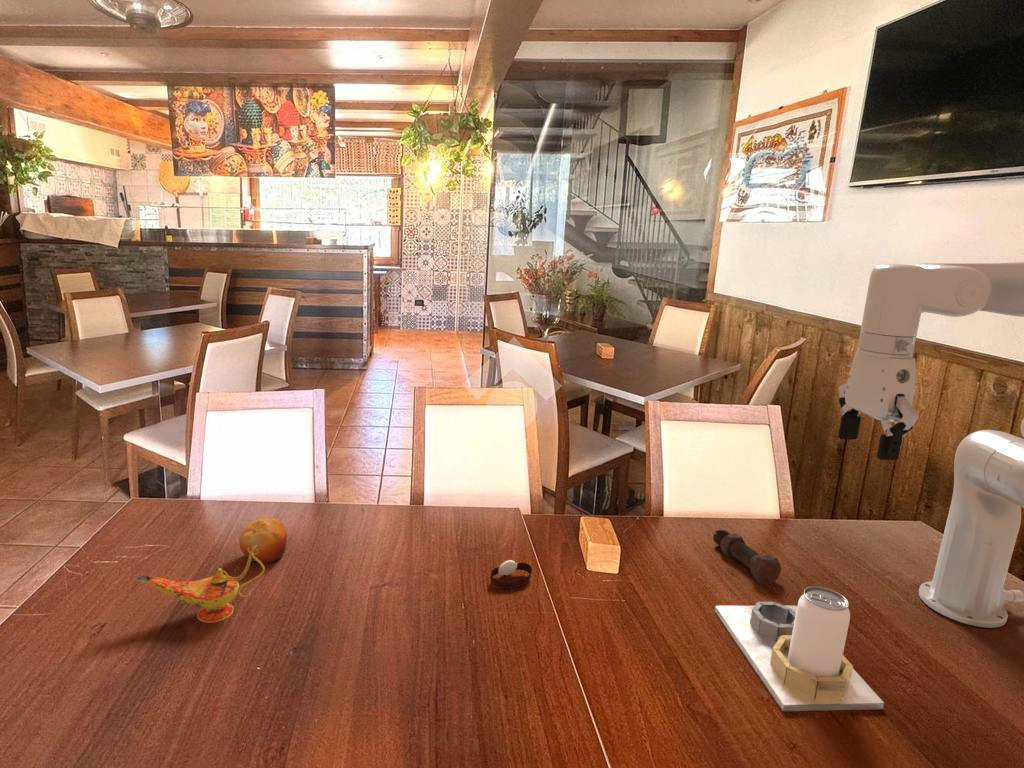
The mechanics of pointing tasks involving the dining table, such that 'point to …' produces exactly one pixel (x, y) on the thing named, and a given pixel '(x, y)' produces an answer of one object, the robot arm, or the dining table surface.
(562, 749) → the dining table surface
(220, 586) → the magic lamp
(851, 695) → the plate
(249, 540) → the fruit
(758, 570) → the bolt
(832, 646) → the can
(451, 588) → the dining table surface
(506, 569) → the watch
